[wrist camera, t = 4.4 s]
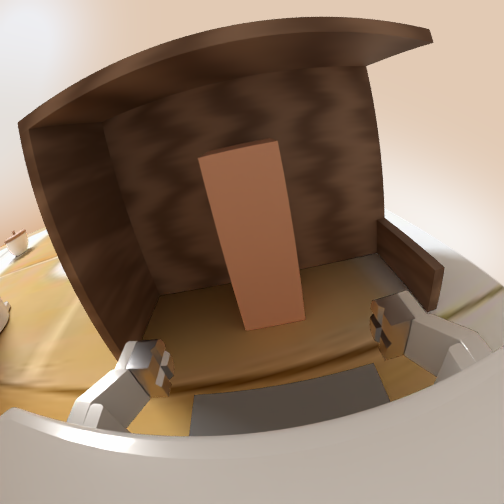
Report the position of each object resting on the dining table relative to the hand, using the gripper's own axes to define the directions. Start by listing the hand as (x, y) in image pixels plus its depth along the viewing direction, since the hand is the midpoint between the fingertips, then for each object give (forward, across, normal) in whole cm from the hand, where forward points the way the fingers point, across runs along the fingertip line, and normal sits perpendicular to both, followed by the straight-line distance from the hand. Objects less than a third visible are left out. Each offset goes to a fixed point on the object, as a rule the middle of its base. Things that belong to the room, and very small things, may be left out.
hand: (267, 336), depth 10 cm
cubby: (+12, 0, -8) cm, 15 cm away
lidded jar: (+64, -92, -8) cm, 112 cm away
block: (+12, 0, -8) cm, 14 cm away
